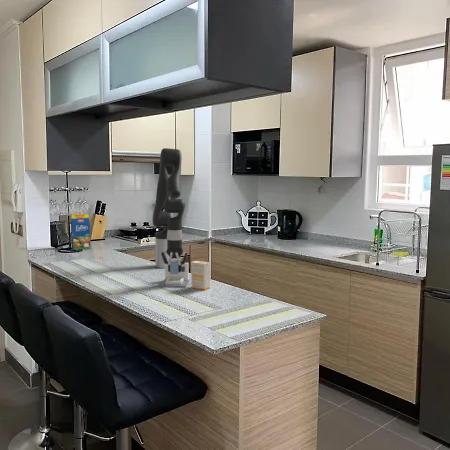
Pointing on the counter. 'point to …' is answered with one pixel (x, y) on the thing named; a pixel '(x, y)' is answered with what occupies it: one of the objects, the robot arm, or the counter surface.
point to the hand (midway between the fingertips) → (174, 271)
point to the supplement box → (200, 275)
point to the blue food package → (80, 232)
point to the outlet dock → (176, 277)
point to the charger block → (174, 267)
